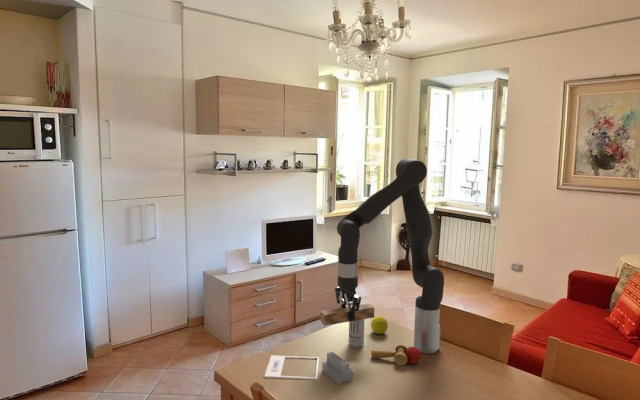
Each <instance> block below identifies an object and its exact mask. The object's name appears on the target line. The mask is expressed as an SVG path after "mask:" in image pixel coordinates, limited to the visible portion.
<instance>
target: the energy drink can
mask: <svg viewBox="0 0 640 400" xmlns="http://www.w3.org/2000/svg"><path fill="white" fill-rule="evenodd" d="M348 344H349V346H350V347H351V348H354V349H358V348H361V347H363V345H364V344H365V319H362V320H356V321H351V322H348Z"/></svg>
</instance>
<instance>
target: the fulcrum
mask: <svg viewBox="0 0 640 400" xmlns="http://www.w3.org/2000/svg"><path fill="white" fill-rule="evenodd" d="M321 370H322V372H324V374H326V375H327V376H328V377H329V378H330V379H331V380H333V382H335V383H336V384H337V385H340V384H344V383H347V382H349V381H351V380H354V371H353V370H352V369H351V368H350V363H348V362H347V361H346V360H345V359H343V358H342V357H340V356H339V355H338V354H336V353H335V352H334V351H329V352H327V353H326V361H323V362H322V369H321Z"/></svg>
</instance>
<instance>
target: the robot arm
mask: <svg viewBox="0 0 640 400" xmlns="http://www.w3.org/2000/svg"><path fill="white" fill-rule="evenodd" d="M427 174H428V168H427V166H426V164H425V163H424V162H423V161H422V160H419V159H413V158H408V157H407V158H402V159H401V160H400V161H399V162H398V163H397V164H396V168H395V175H396V178H395V179H394V180H392V182H390V183H388V185H386V186H384V187H383V188H382V189H381V188H380V190H378V191H376V192H374V193H373V194H372V195H371V196H370V197H369V196H368V198H367V199H366V200H364V202H362V203H361V204H360V205H359V206H358V207H357V208H356V209H355V210H353V211H351V212H350V213H348V214H346V215H345V216H344V217H343V218H341V220H340V221H339V222H338V223H337V225H336V231H337V234H338V236H340V246H339V248H338V253H337V257H338V258H337V260H338V261H337V262H338V263H337V287H335V288H334V292H335V298H336V303H337V304H339V308H344V307H348V309H349V318H348V320H349V321H350V322H351V321H354V319H355V311H359V307H360V305H361V302H362V296H358V295H357V292H356V289H357V288H358V286H359V264H358V258H359V257H358V255H359V254H358V248H359V243H360V236H361V232H360V228H361V227H362V226H364V225H367V224H370V223H372V222H373V221H374V220H375V219H376V218H378V216H380V214H382V212H383V211H384V210H386V209H387V208H388V207H390V205H392V204H394V202H396V200H398V199H399V198H400V197H401V198H402V206H403V214H404V219H405V226H406V232H407V237H408V244H409V249H410V255H411V268H412V269H411V272H412V280H413V281H414V283H415V284H416V285H417V286H419V287H420V288H421V289H422V290H421V295H420V296H419V295H418V296H417V297H416V299H415V304H414V305H415V306H414V307H415V309H414V326H413V327H414V332H413V347H416V348H418V349H419V350H420V352H421V354H435V353H437V352H438V350H440V348H441V346H440V345H441V344H440V343H441V325H440V311H441V310H440V309H441V304H442V302H443V298H444V297H443V296H444V290H445V289H444V288H445V276H444V273H443V271H441V270H440V269H439V268H437V267H435V266H432V265H431V261H430V256H429V255H430V254H429V248H430V243H431V241H432V236H433V228H432V221H431V215H430V213H429V210H428V208H427V205H426V204H425V202H424V199H423V197H422V195H421V191H420V190H421V189H420V185H419V184H421V183H422V182H423V181H424V180H425V179H426V177H427ZM351 306H352V308H351Z"/></svg>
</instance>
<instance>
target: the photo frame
mask: <svg viewBox="0 0 640 400" xmlns="http://www.w3.org/2000/svg"><path fill="white" fill-rule="evenodd" d="M298 358H305V359H304V360H315V359H316V368H315V376H299V375H298V376H297V375H282V372H283V368H284V365H283V364H285V361H286V360H285V359H298ZM307 358H308V359H307ZM284 360H285V361H284ZM319 364H320V356H319V357H318V356H297V355H294V356H293V355H273V354H272V355H270V359H269V360H268V364H267V367H266V370H265V373H264V376H263V377H264V378H266V379H289V380H316V381H317V380H318V376H319Z"/></svg>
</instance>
